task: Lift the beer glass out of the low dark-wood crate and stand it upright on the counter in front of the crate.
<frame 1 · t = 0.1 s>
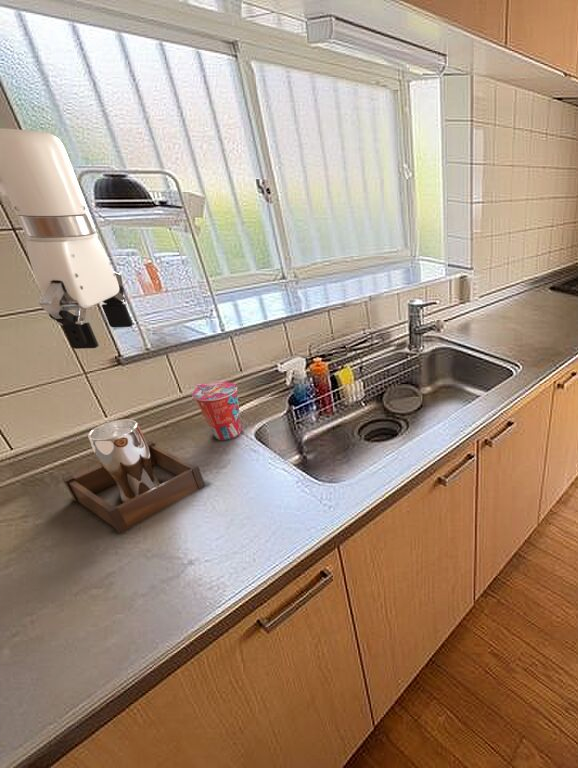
hand: (105, 336, 69), 31 cm above the counter, tool pointing down, fingers open, 9 cm apart
crate: (142, 494, 80), on the counter
cup: (227, 435, 99), on the counter
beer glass: (143, 495, 80), resting in crate
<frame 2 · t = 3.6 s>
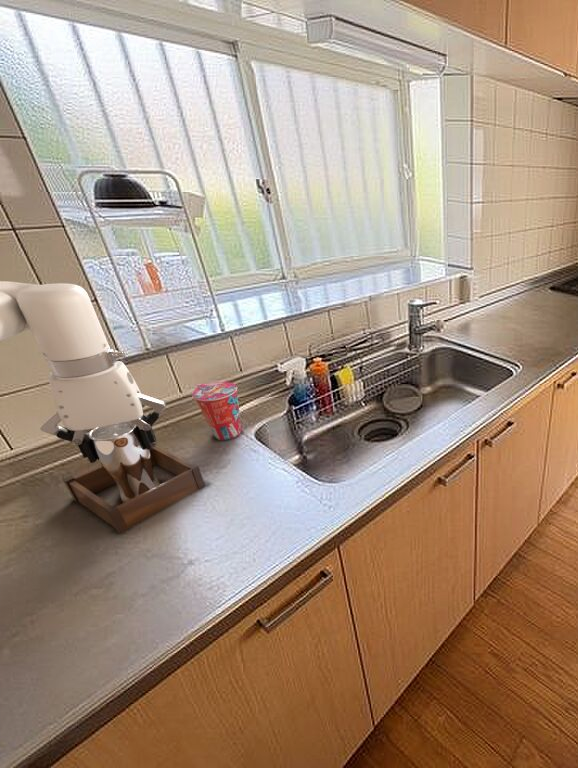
hand: (123, 451, 76), 10 cm above the counter, tool pointing down, fingers closed on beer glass, 7 cm apart
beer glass: (143, 495, 80), resting in crate, touching gripper
everything else where it was.
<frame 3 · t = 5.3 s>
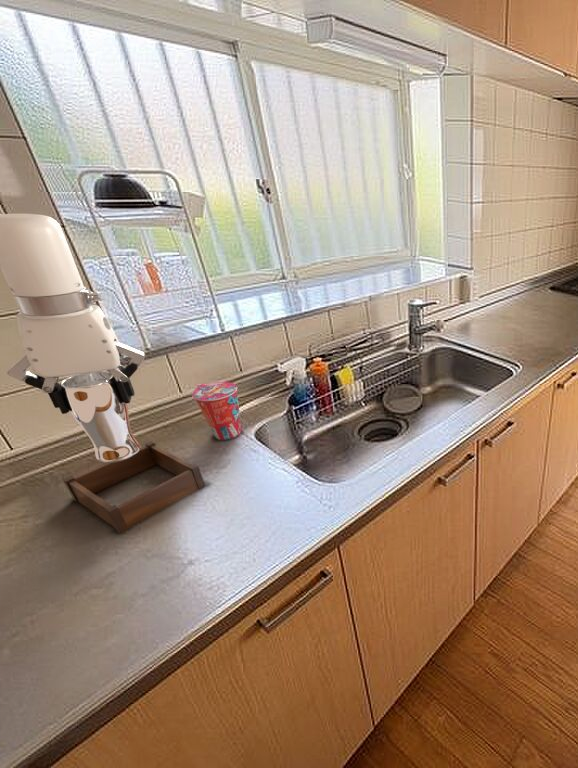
hand: (98, 404, 71), 20 cm above the counter, tool pointing down, fingers closed on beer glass, 7 cm apart
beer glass: (119, 453, 76), point 10 cm above the counter, touching gripper
everything else where it was.
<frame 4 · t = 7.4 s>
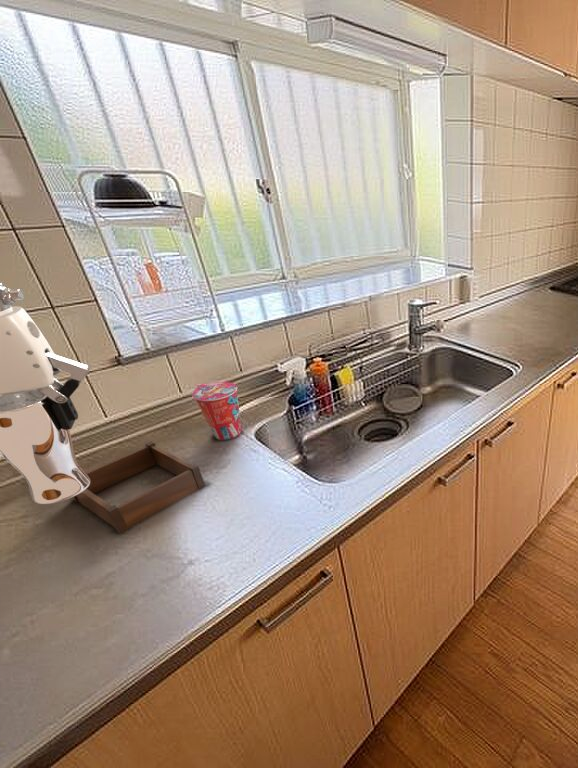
hand: (30, 431, 56), 24 cm above the counter, tool pointing down, fingers closed on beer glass, 7 cm apart
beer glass: (63, 491, 61), point 14 cm above the counter, touching gripper
everything else where it was.
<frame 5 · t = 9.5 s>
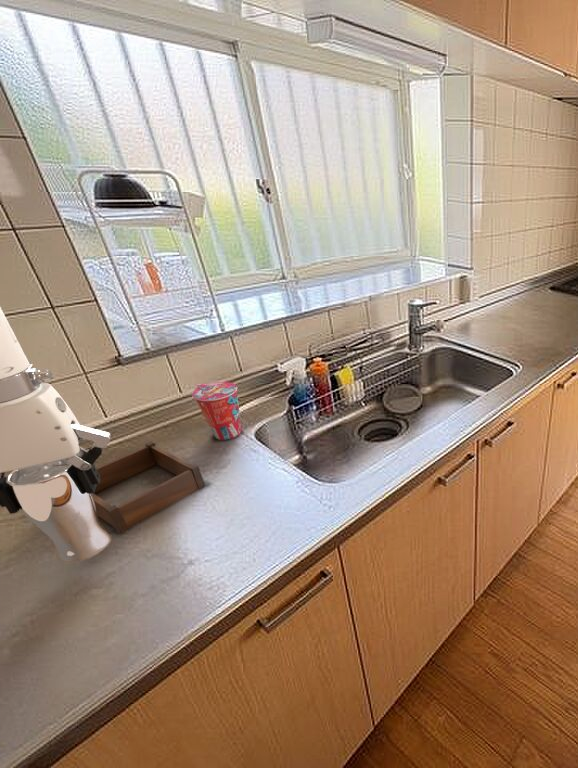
hand: (56, 496, 59), 14 cm above the counter, tool pointing down, fingers closed on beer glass, 7 cm apart
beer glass: (86, 548, 64), point 4 cm above the counter, touching gripper
everything else where it was.
when the fingers open (10 cm above the counter, at t = 11.1 s): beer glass stays where it is, on the counter.
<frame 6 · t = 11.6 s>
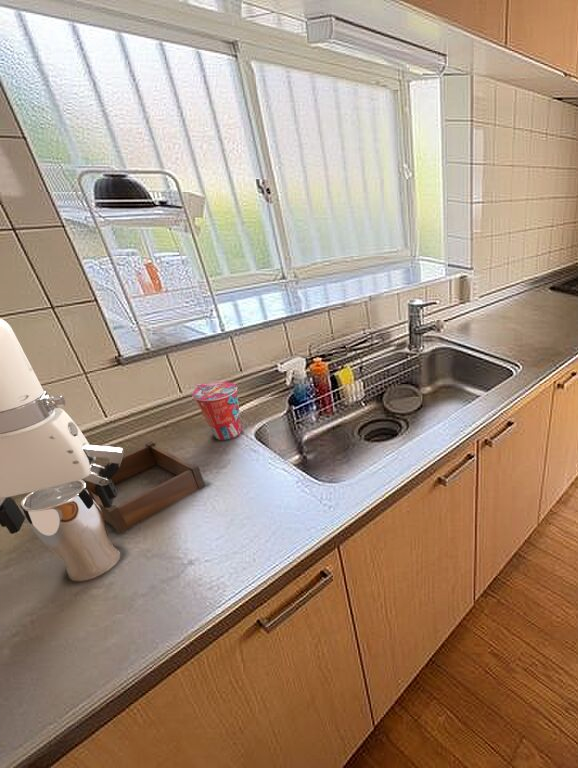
hand: (66, 513, 61), 11 cm above the counter, tool pointing down, fingers open, 9 cm apart
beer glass: (96, 567, 66), on the counter
everything else where it was.
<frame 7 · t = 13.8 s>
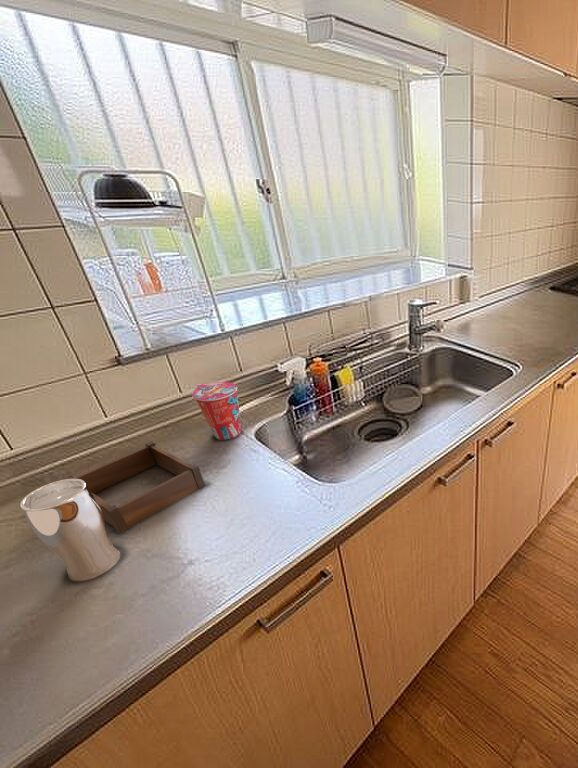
nothing on the counter moved.
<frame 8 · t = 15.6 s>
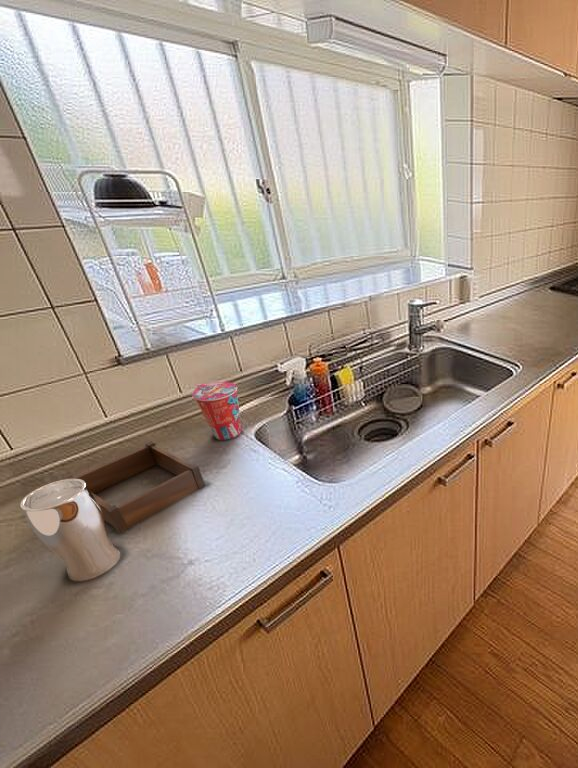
nothing on the counter moved.
at the end: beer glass inside the target area (0.1 cm from its centre), on the counter; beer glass tilted 0°; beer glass touching counter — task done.
